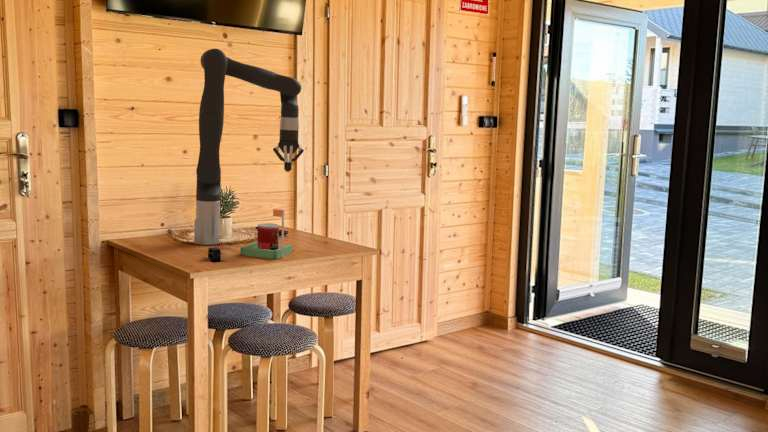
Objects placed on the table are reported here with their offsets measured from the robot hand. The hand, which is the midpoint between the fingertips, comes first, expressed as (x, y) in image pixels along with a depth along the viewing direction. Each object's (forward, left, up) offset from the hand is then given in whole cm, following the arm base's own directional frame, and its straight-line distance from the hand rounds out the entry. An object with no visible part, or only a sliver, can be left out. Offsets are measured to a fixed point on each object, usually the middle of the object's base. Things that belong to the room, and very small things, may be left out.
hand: (287, 171), depth 290 cm
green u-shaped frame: (-5, -25, -29) cm, 39 cm away
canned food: (-5, -25, -29) cm, 39 cm away
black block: (-23, -38, -30) cm, 54 cm away
